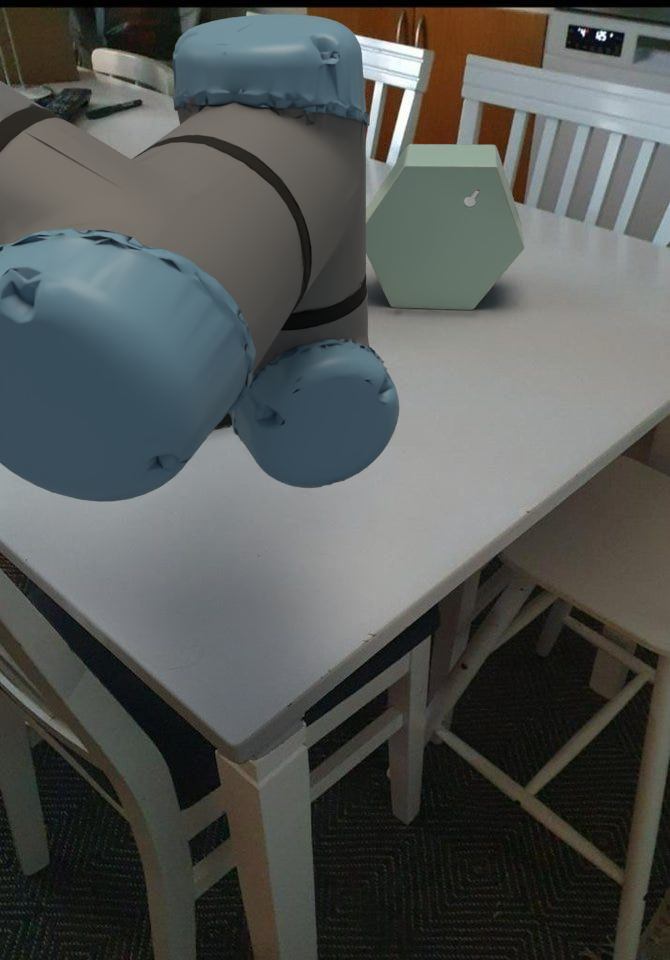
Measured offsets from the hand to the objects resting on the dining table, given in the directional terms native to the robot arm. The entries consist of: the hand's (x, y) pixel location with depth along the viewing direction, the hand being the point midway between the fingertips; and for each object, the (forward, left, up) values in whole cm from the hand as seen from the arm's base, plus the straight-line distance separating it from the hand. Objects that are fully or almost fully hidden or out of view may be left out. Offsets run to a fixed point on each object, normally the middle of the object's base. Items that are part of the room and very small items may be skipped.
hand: (168, 181), depth 63 cm
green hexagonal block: (+19, +35, -26) cm, 48 cm away
